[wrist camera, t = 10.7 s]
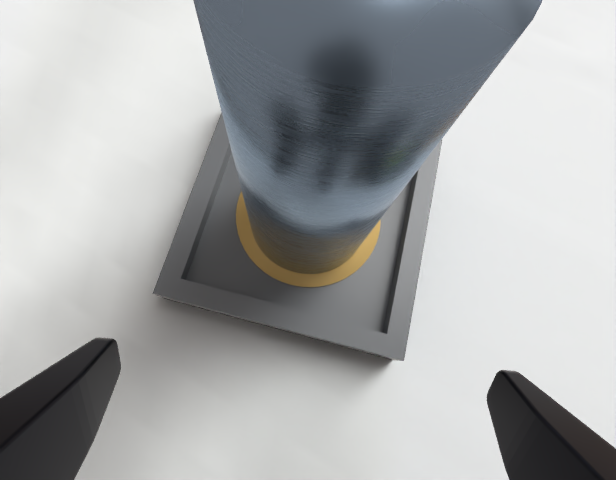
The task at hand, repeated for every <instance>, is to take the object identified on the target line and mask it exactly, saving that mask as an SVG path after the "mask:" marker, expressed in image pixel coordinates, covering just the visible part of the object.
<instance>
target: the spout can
mask: <svg viewBox="0 0 616 480" xmlns="http://www.w3.org/2000/svg"><path fill="white" fill-rule="evenodd" d="M541 3H542V0H194V4H195V8H196V12H197V16H198V20H199V24H200V28H201V32H202V36H203V40H204V44H205V48H206V52H207V56H208V60H209V64H210V68H211V72H212V75H213V79H214V83H215V87H216V91H217V95H218V99H219V103H220V107H221V111H222V115H223V119H224V123H225V127H226V131H227V135H228V139H229V143H230V147H231V151H232V154H233V158H234V162H235V166H236V170H237V174H238V178H239V182H240V186H241V190H242V194H243V198H244V202H245V206H246V210H247V214H248V218H249V222H250V226H251V230H252V233H253V236H254V239H255V241H256V243H257V245H258V246H259V248H260V249H261V251H262V252H263V253H264V254H265V255H266V256H267V257H268V258H269V259H270V260H271V261H272V262H274V263H275V264H277V265H278V266H280V267H282V268H284V269H286V270H289V271H292V272H296V273H301V274H318V273H323V272H327V271H330V270H333V269H335V268H337V267H339V266H341V265H342V264H343V263H345V262H346V261H347V260H349V259H350V258H351V257H352V256H353V254H354V253H355V252H356V251H357V249H358V248H359V247H360V245H361V244H362V243H363V241H364V240H365V239H366V237H367V236H368V235H369V234H370V232H371V231H372V230H373V228H374V227H375V226H376V224H377V223H378V222H379V220H380V219H381V218H382V216H383V215H384V214H385V213H386V211H387V210H388V209H389V207H390V206H391V205H392V203H393V202H394V201H395V199H396V198H397V197H398V195H399V194H400V193H401V192H402V190H403V189H404V188H405V186H406V185H407V184H408V182H409V181H410V180H411V178H412V177H413V176H414V175H415V173H416V172H417V171H418V169H419V168H420V167H421V165H422V164H423V163H424V161H425V160H426V159H427V157H428V156H429V155H430V154H431V152H432V151H433V150H434V148H435V147H436V146H437V144H438V143H439V142H440V140H441V139H442V138H443V136H444V135H445V134H446V133H447V131H448V130H449V129H450V127H451V126H452V125H453V123H454V122H455V121H456V119H457V118H458V117H459V115H460V114H461V113H462V112H463V110H464V109H465V108H466V106H467V105H468V104H469V102H470V101H471V100H472V98H473V97H474V96H475V94H476V93H477V92H478V91H479V89H480V88H481V87H482V85H483V84H484V83H485V81H486V80H487V79H488V77H489V76H490V75H491V73H492V72H493V71H494V70H495V68H496V67H497V66H498V64H499V63H500V62H501V60H502V59H503V58H504V56H505V55H506V54H507V53H508V51H509V50H510V49H511V47H512V46H513V45H514V43H515V42H516V41H517V39H518V38H519V37H520V35H521V34H522V33H523V32H524V30H525V29H526V28H527V26H528V25H529V24H530V22H531V21H532V20H533V18H534V16H535V14H536V12H537V10H538V8H539V7H540V5H541Z"/></svg>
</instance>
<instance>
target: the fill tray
mask: <svg viewBox="0 0 616 480" xmlns="http://www.w3.org/2000/svg"><path fill="white" fill-rule="evenodd" d="M441 144H442V140H440V142H439V143H438V144H437V146H436V147H435V148H434V150H433V151H432V152H431V154H430V155H429V156H428V157H427V159H426V160H425V161H424V163H423V164H422V165H421V167H420V168H419V169H418V171H417V172H416V173H415V175H414V176H413V177H412V178H411V180H410V181H409V182H408V184H407V185H406V186H405V188H404V189H403V190H402V192H401V193H400V194H399V195H398V197H397V198H396V199H395V201H394V202H393V203H392V205H391V206H390V207H389V209H388V210H387V211H386V213H385V214H384V215H383V216H382V218H381V219H380V220H379V222H378V223H377V224H376V226H375V227H374V228H373V230H372V231H371V232H370V234H369V235H368V236H367V237H366V239H365V240H364V241H363V243H362V244H361V245H360V247H359V248H358V249H357V251H356V252H355V253H354V254H353V256H352V257H351V258H350V259H349V260H347V261H346V262H345V263H343V264H342V265H341V266H339V267H337V268H335V269H333V270H330V271H327V272H323V273H318V274H301V273H296V272H292V271H289V270H286V269H284V268H282V267H280V266H278V265H277V264H275V263H274V262H272V261H271V260H270V259H269V258H268V257H267V256H266V255H265V254H264V253H263V252H262V251H261V249H260V248H259V246H258V245H257V243H256V241H255V239H254V236H253V233H252V230H251V226H250V222H249V218H248V214H247V210H246V206H245V202H244V198H243V194H242V190H241V186H240V182H239V178H238V174H237V170H236V166H235V162H234V158H233V154H232V151H231V147H230V143H229V139H228V135H227V131H226V127H225V123H224V119H223V115H222V113H221V116H220V118H219V121H218V124H217V126H216V129H215V131H214V134H213V137H212V139H211V142H210V145H209V147H208V150H207V152H206V155H205V158H204V160H203V163H202V166H201V168H200V171H199V173H198V176H197V179H196V181H195V184H194V187H193V189H192V192H191V194H190V197H189V200H188V202H187V205H186V208H185V210H184V213H183V215H182V218H181V221H180V223H179V226H178V229H177V231H176V234H175V236H174V239H173V242H172V244H171V247H170V250H169V252H168V255H167V257H166V260H165V263H164V265H163V268H162V271H161V273H160V276H159V278H158V281H157V284H156V286H155V289H154V292H153V293H154V294H156V295H158V296H160V297H163V298H165V299H169V300H173V301H177V302H180V303H184V304H188V305H191V306H195V307H199V308H203V309H206V310H210V311H214V312H217V313H221V314H225V315H229V316H232V317H236V318H240V319H243V320H247V321H251V322H255V323H258V324H262V325H266V326H269V327H273V328H277V329H280V330H284V331H288V332H292V333H295V334H299V335H303V336H306V337H310V338H314V339H318V340H321V341H325V342H329V343H332V344H336V345H340V346H344V347H347V348H351V349H355V350H358V351H362V352H366V353H370V354H373V355H377V356H381V357H384V358H388V359H392V360H400V361H404V357H405V351H406V345H407V340H408V334H409V328H410V322H411V317H412V311H413V305H414V299H415V293H416V288H417V282H418V276H419V270H420V265H421V259H422V253H423V247H424V242H425V236H426V230H427V224H428V219H429V213H430V207H431V201H432V196H433V190H434V184H435V178H436V173H437V167H438V161H439V155H440V150H441Z"/></svg>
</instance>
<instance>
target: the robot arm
mask: <svg viewBox="0 0 616 480" xmlns="http://www.w3.org/2000/svg"><path fill="white" fill-rule="evenodd" d="M120 370H121V363H120V357H119V352H118V346H117V342H116V341H115V340H114V339H110V338H95V339H93V340H91V341H90V342H88V343H87V344H85V345H83V346H82V347H80V348H79V349H77V350H76V351H74V352H72V353H71V354H69V355H68V356H66V357H65V358H63V359H61V360H60V361H58V362H57V363H55V364H53V365H52V366H50V367H49V368H47V369H46V370H44V371H42V372H41V373H39V374H38V375H36V376H35V377H33V378H31V379H30V380H28V381H27V382H25V383H23V384H22V385H20V386H19V387H17V388H16V389H14V390H12V391H11V392H9V393H8V394H6V395H4V396H3V397H1V398H0V480H74V479H75V477H76V475H77V473H78V471H79V469H80V467H81V465H82V463H83V461H84V459H85V457H86V455H87V453H88V451H89V449H90V447H91V445H92V443H93V441H94V438H95V436H96V434H97V431H98V429H99V426H100V424H101V421H102V418H103V416H104V413H105V411H106V408H107V406H108V403H109V400H110V398H111V395H112V393H113V390H114V387H115V385H116V382H117V380H118V377H119V374H120ZM487 404H488V408H489V412H490V415H491V419H492V423H493V426H494V430H495V434H496V437H497V441H498V444H499V448H500V452H501V455H502V459H503V462H504V465H505V469H506V472H507V474H508V477H509V480H616V449H615V448H614V447H613V446H612V445H610V444H609V443H608V442H607V441H605V440H604V439H603V438H601V437H600V436H599V435H598V434H596V433H595V432H594V431H593V430H591V429H590V428H589V427H588V426H586V425H585V424H584V423H582V422H581V421H580V420H579V419H577V418H576V417H575V416H574V415H572V414H571V413H570V412H568V411H567V410H566V409H565V408H563V407H562V406H561V405H560V404H558V403H557V402H556V401H554V400H553V399H552V398H551V397H549V396H548V395H547V394H546V393H544V392H543V391H542V390H541V389H539V388H538V387H537V386H535V385H534V384H533V383H532V382H530V381H529V380H528V379H527V378H525V377H524V376H523V375H521V374H520V373H518V372H516V371H507V370H500V371H499V372H497V374H496V376H495V378H494V380H493V382H492V384H491V387H490V389H489V391H488V394H487Z"/></svg>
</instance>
